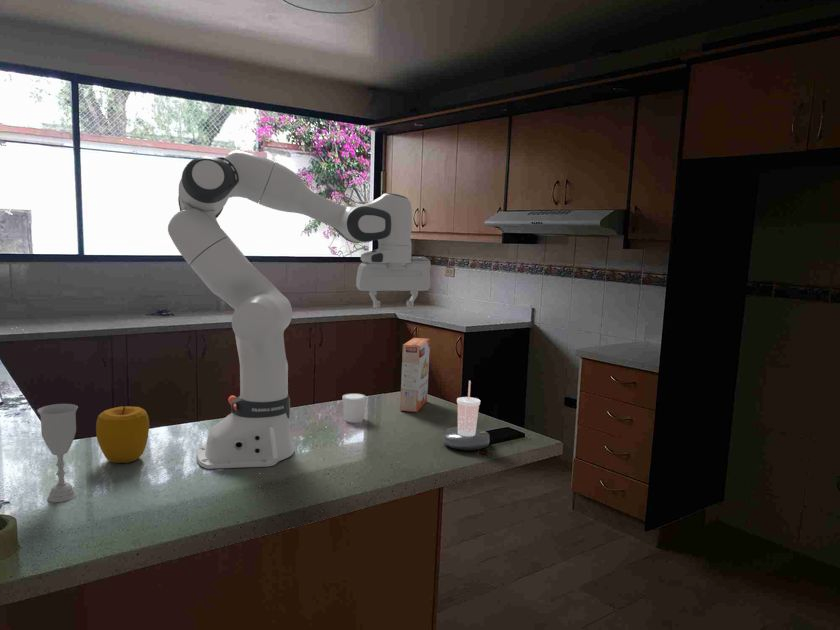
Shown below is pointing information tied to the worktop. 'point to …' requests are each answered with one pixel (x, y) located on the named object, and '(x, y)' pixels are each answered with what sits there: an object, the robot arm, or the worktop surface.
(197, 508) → the worktop surface
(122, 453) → the apple
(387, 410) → the worktop surface
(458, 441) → the turntable
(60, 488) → the chalice
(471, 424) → the beverage cup
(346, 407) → the white short cylinder
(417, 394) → the cracker box
